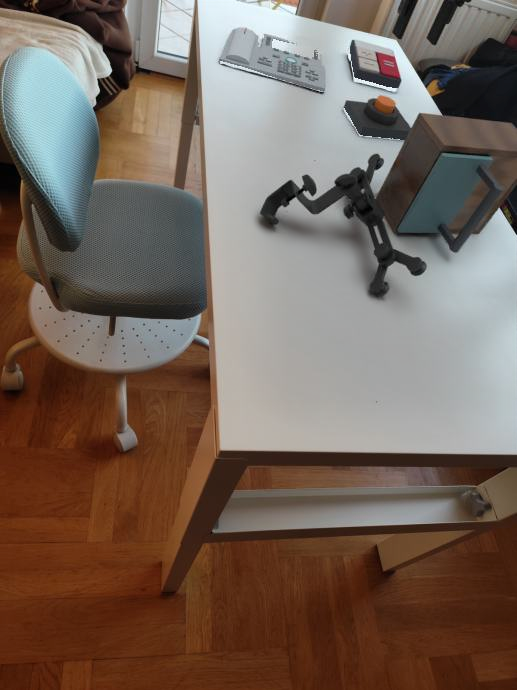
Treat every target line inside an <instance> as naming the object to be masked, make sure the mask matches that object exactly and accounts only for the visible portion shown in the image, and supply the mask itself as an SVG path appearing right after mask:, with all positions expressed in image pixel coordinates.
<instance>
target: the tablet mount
mask: <svg viewBox="0 0 517 690" xmlns="http://www.w3.org/2000/svg"><path fill="white" fill-rule="evenodd" d="M367 164H368V165H367V168H366V170H365V169H362V168H361V167H360V166H357V167H354V168H353V169H352V170H350V172H349V173H343V174H341V175H339V176H337V177H336V179H334V181H333V183H334V186H333V187H331V188H329V189H328V190H327V191H325V192H324V193H322V194H321V195H320V196H318V197H317V198H315V199H312V200H311V199H309V198H308V197H307V196H306V195H305V194H304V192H305V193H306V192H308V193H309V195H310V196H311V197H314V196H315V195H316V194H317V191H318V190H317V189H318V188H317V184H316V181H315V180H314V179H313V177H311V176H310V174H304V175H301V179H302V181H303V184H302V185H301V188H300V187H299V186H298V185H297V183H295V181H294V180H292V179H289V180H287V181H286V182H284V184H282V185H280V187H278V188H277V189H275V190H274V191H273V192H271V194H269V195H268V196H267V197H266V198H265V200H264V203H263V204H262V207H261V209H260V212H259V214H260V215H261V216H262V217H263V218H264V219H265V220H266V221H267V222H268V223H270V224H271V225H272V226H273V225H274V226H278V225H279V222H280V221H279V219H278V218H277V217H276V214H277V212H278V210H279V208H280V207H283V208H288V206H289V205H291V201H293V200H294V199H295V198H296V199H297V200H298V202H299V203H300V204H301V205H302V206H303V207H304V208H305V209H307V211H308V212H309V213H310V214H311V215H319V214H320V213H322V212H324V211H325V210H326V209H328V208H329V207H331V206H332V205H334V204H336V202H338V201H340V200H341V199H342V198H344V197H346V198H347V199H348V200H349V202H347V204H345V206H344V207H343V209H342V212H343V215H344V216H345V217H346V219H348V220H349V219H353V218H354V216H356V217H357V218H358V220H359V221H361V222H362V223H363V224H364V225H365V226H366V227H367V230H368V233H369V236H370V239H371V242H372V245H373V255H374V257H375V258H376V261H377V263H378V265H377V267H376V272H375V274H374V277H373V280H372V281H371V282H370V284H369V289H370V290H371V292H372V293H374V295H375V296H376V297H383V296H385V295H386V294H388V292H389V290H390V284H389V283H388V282H387V281H385V276H386V274H387V271H388V269H389V267H391V266H392V265H394V263H395V262H396V263H398V264H400V265H402V266H405V268H407V270H408V271H409V273H410V274H411V276H413V277H418V276H421V275H424V273H425V272H426V270H427V267H428V265H427V262H425V260H423V259H422V258H421V257H420V256H411V255H409V254H407V253H404V252H402V251H400V250H398V249H396V248H394V247H393V245H392V242H391V238H390V236H389V233H388V231H387V229H386V226H385V222H384V219H385V217H384V215H385V212H384V210H383V209H382V208H381V206H380V204H379V203H378V201H377V200H376V197H375V195H374V192H373V188H372V186H371V183H372V180H373V177H374V175H375V171H377V170H379V169H381V168H382V167H383V166H384V165H385V159H384V158H383V157H381V155H380V154H379V153H373V154H372V155H370V157H369V158H368V160H367ZM354 213H355V214H354ZM375 227H376V228H377V231H378V233H379V236H380V240H381V243H380V241H379V239H378V236H377V233H376V229H375Z"/></svg>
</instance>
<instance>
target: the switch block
mask: <svg viewBox="0 0 517 690" xmlns="http://www.w3.org/2000/svg"><path fill="white" fill-rule="evenodd" d="M376 99H377V97H376V98H375V97H374V98H369V99H368V100H367V102H365V101H357V100H350V99H349V100H347V99H346V100H345V102H344V104H343V108H345V110H346V112H347V113H348V115H349V116H350V118H351V120H352V122H353V124H354V126H355V127H356V129H357V131H358V133H359V134H360V135H363V136H372V137H381V138H391V139H392V138H393V139H400V140H406V138H407V136H408V134H409V132H410V130H411V128H412V126H410V124H409V123H408V122H407V120H406V119H405V118H404V116H403V115H402V113H401V111H400V110H399V109H398V107H397V106H396V105H395V107H394V109H393V112H392V113H391V114H388V113H383V112H381V111H379V110H377V109H376V108H375V107H374V104H375V102H376ZM400 140H399V141H400Z"/></svg>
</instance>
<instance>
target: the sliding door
mask: <svg viewBox="0 0 517 690" xmlns="http://www.w3.org/2000/svg"><path fill="white" fill-rule="evenodd" d="M493 161H494V160H493V158H492V157H486V156H473V155H461V154H449V153H441V155H440V157H439V158H438V160H437V162H436V163H435V165H434V167H433V169H432V170H431V172H430V174H429V175H428V177H427V179H426V181H425V182H424V184H423V186H422V187H421V189H420V191H419V193H418V194H417V196H416V198H415V199H414V201H413V203H412V205H411V206H410V208H409V210H408V212H407V213H406V215H405V217H404V218H403V220H402V222H401V224H400V225H399V227H398V229H397V230H398V232H404V233H405V234H407V233H409V234H440V235H441V236H442V238H443V239H444V241H445V242H446V244H447V246H448V249H449V251H451V252H452V253H454V254H457V253H459V252H460V250H461V249H462V248H463V246H464V244H466V242H468V241H467V240H469V238H470V237H471V235H472V233H473V231H474V230H475V228H476V227H477V226H478V224H479V223H480V222H481V220H482V219H483V218H484V216H485V215H486V214H487V212H488V211H489V210H490V208H491V207H492V206H493V204H494V203H495V202H496V200H497V199H498V198H499V196H500V195H501V193H502V192H503V191H504V187H503V186H502V185H500V184H499V183H498V182H497V180H496V179H495V178H494V177H493V175H492V174H491V173H490V172H489V171H488V168H489V166H490V165H491V164H492V162H493ZM481 178H482V180H483V181H484V182H485V183H486V185H487V186H488V187H489V189H490V191H489V192H488V193H487V195H486V196H485V198H484V199H483V200H482V202H481V203H480V205H479V206H478V207H477V209H476V210H475V212H474V213H473V214H472V216H471V217H470V219H469V220H468V221H467V223H466V224H465V226H464V227H463V228H462V230H461V231H460V233H457V235H456V237H455V236H454V234H453V233H451V232H450V230H449V229H448V226H449V225H450V223H451V222H452V221H453V219H454V218H455V216H456V215H457V213H458V212H459V210H460V209H461V207H462V206H463V204H464V203H465V202H466V200H467V199H468V197H469V196H470V194H471V193H472V191H473V190H474V188H475V187H476V185H477V184H478V183H479V181H480V180H481Z"/></svg>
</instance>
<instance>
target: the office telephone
mask: <svg viewBox="0 0 517 690" xmlns="http://www.w3.org/2000/svg"><path fill="white" fill-rule="evenodd" d="M263 35H264V38H263V37H262V43H261V46H258V43H259V35H258V34H256V32H254V30H252V29H250V28H247V27H237V28H233V29H232V30H231V31H230V33H229V37H228V38H227V40H226V42H225V44H224V47H223V49H222V52H221V54H220V57H219V60H220V61H223V62H227V63H230V64H234V65H237V66H242V67H245V68H248V69H251V70H254V71H257V72H260V73H263V74H265V75H268V76H272V77H275V78H277V79H281V80H285V81H287V82H292V83H294V84H298V85H301V86H305V87H308V88H312V89H315V90H320V91H323V92H324V93H325V90H326V85H327V84H326V67H325V66H324V65H323V64H322V59H321V60H319V59H318V54H316V53H318V52H315V51H317V50H314V57H312V59H310V58H308V57H303V56H300V55H297V54H292V53H289V52H287V51H281V50H279V49H276V48H272V41H273V39H276V40H279V41H283V42H287V43H290V42H289V41H290V40H289V39H286V40H285V38H283V37H279V36H276V35H272V34H268V33H263V34H262V36H263ZM288 40H289V41H288ZM293 42H294V41H293ZM293 42H291V43H292V44H295V43H293ZM296 45H297V44H296ZM316 55H317V56H316ZM219 60H218V61H219Z"/></svg>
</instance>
